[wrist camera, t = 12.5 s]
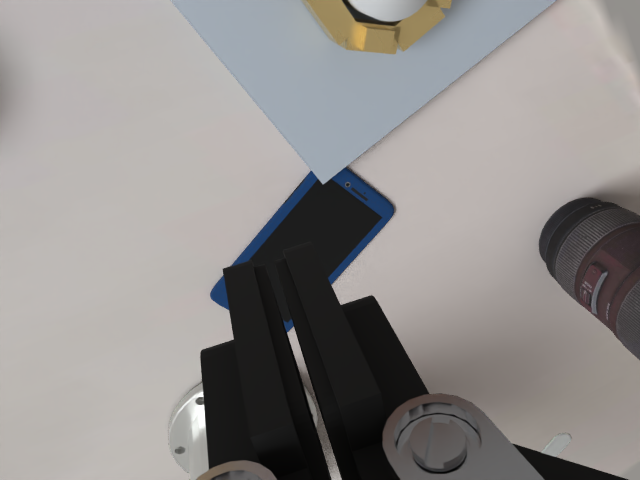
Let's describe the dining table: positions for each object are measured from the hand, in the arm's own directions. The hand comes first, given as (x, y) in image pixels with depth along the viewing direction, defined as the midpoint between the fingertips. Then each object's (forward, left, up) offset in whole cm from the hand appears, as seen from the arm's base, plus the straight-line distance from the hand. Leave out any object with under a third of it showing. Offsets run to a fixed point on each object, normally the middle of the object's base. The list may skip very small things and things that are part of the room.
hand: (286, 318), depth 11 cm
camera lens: (-30, -14, -27) cm, 43 cm away
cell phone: (-15, +4, -28) cm, 32 cm away
